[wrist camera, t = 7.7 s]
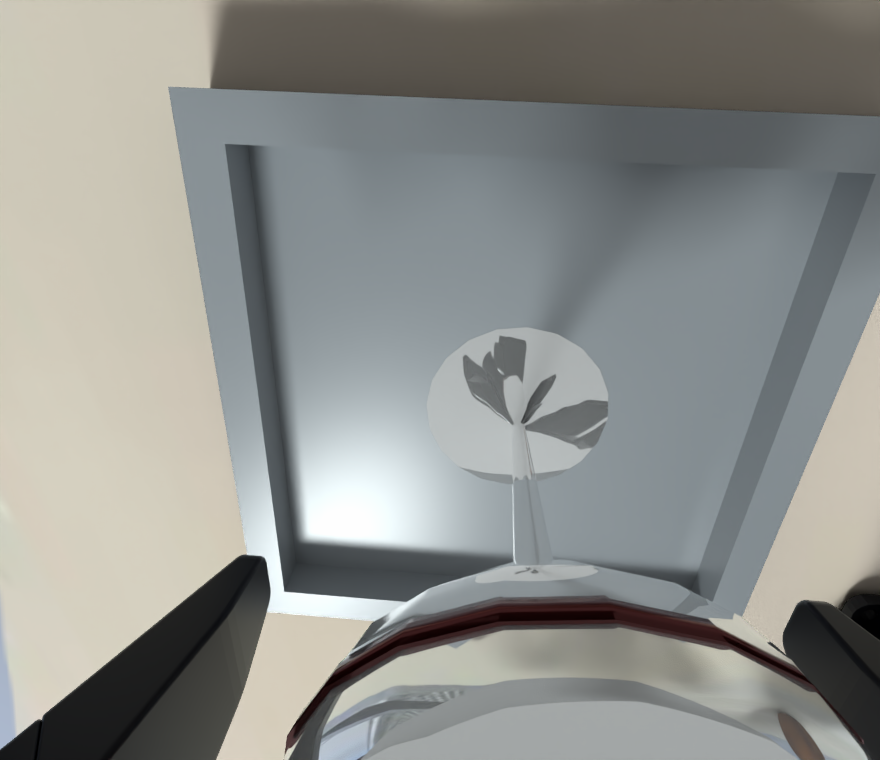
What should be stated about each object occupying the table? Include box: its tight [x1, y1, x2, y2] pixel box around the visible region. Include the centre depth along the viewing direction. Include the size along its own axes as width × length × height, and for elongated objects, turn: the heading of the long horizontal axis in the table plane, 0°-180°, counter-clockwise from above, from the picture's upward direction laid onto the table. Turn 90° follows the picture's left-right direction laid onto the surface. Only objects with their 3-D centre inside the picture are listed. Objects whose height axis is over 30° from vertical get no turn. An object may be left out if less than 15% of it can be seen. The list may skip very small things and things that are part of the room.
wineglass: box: [283, 327, 876, 760], centre depth 9 cm, size 7×7×12 cm
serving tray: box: [168, 87, 880, 621], centre depth 15 cm, size 15×15×2 cm
